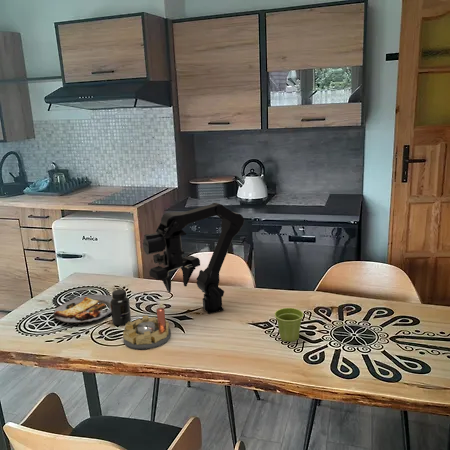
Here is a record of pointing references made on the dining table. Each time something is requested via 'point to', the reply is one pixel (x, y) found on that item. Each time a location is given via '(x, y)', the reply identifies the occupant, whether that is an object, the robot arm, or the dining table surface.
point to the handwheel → (147, 338)
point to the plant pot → (289, 323)
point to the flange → (150, 327)
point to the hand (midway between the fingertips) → (177, 289)
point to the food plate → (83, 309)
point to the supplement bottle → (120, 308)
